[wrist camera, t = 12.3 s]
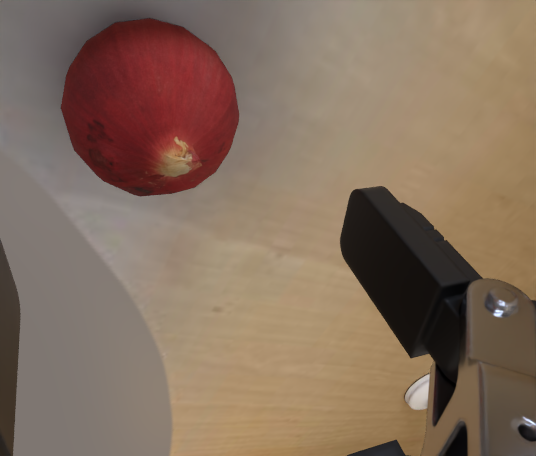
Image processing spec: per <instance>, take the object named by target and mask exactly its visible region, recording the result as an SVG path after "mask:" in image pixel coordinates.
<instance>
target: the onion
mask: <svg viewBox="0 0 536 456" xmlns="http://www.w3.org/2000/svg"><path fill="white" fill-rule="evenodd" d="M61 110H62V113H63V117H64V120H65V123H66V126H67V130H68V133H69V136H70V140H71V143H72V145H73V148H74V151H75V152H76V153H77V154H78V155H79V156H80V157H81V158H82V159H83V160H84V162H85V163H86V164H87V165H88V166H89V167H90V168H91V169H92V170H93V172H94V173H95V174H96V175H97V176H98V177H99V178H101V179H102V180H103V181H104V182H107V183H109V184H111V185H113V186H115V187H118V188H120V189H122V190H124V191H127V192H129V193H131V194H133V195H137V196H150V195H161V194H172V193H176V192H179V191H183V190H187V189H190V188H194V187H196V186H197V185H199V184H200V183H201V182H203V181H204V180H205V179H207V178H208V177H209V176H211V175H212V174H213V173H215V172H216V170H217V169H218V167H219V166H220V164H221V163H222V161H223V160H224V158H225V157H226V155H227V154H228V152H229V150H230V148H231V145H232V142H233V138H234V135H235V132H236V129H237V126H238V121H239V110H238V104H237V99H236V93H235V87H234V83H233V80H232V77H231V75H230V74H229V72H228V70H227V69H226V67H225V66H224V64H223V62H222V61H221V59H220V58H219V56H218V55H217V53H216V51H215V50H213V49H212V48H211V47H210V46H209V45H207V44H206V43H204V42H203V41H202V40H200V39H199V38H197V37H196V36H195V35H193V34H192V33H190V32H189V31H188V30H186V29H185V28H184V27H181V26H178V25H174V24H170V23H166V22H162V21H159V20H155V19H151V18H147V19H139V20H132V21H124V22H116V23H114V24H112V25H111V26H109V27H107V28H106V29H104V30H103V31H101V32H100V33H98V34H97V35H95V36H94V37H92V38H91V39H89V40H87V41H86V43H85V44H84V46H83V47H82V49H81V50H80V52H79V53H78V55H77V56H76V58H75V59H74V61H73V62H72V64H71V65H70V67H69V70H68V72H67V75H66V80H65V86H64V92H63V98H62V104H61Z"/></svg>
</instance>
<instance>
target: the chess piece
mask: <svg viewBox="0 0 536 456" xmlns="http://www.w3.org/2000/svg"><path fill="white" fill-rule="evenodd" d="M429 378H430V374H428V375H426V376H424V377H422V378H421V379H419V380H418V381H416V382H415V383H414V384H413V385H412V386H411V387H410V388H409V389H408V391H407V393H406V395H405V401H406V403H408V404H409V406H410V407H411V408H412V409H415V410H422V409H426V408H427V405H428V391H429Z"/></svg>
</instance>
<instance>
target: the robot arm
mask: <svg viewBox="0 0 536 456" xmlns="http://www.w3.org/2000/svg"><path fill="white" fill-rule="evenodd" d="M340 246H341V252H342V255H343V257H344V260H345V261H346V263H347V264H348V266H349V267H350V269H351V270H352V272H353V273H354V275H355V276H356V278H357V279H358V281H359V282H360V284H361V285H362V287H363V288H364V290H365V291H366V292H367V294H368V295H369V297H370V298H371V300H372V301H373V303H374V304H375V306H376V307H377V309H378V310H379V312H380V313H381V315H382V316H383V318H384V319H385V321H386V322H387V324H388V325H389V327H390V328H391V330H392V331H393V333H394V334H395V336H396V337H397V338H398V340H399V341H400V343H401V344H402V346H403V347H404V349H405V350H406V352H407V353H408V355H409V356H410V358H414V357H418V356H422V355H425V354H430V355H431V357H432V358H433V360H434V361H433V363H432V365H431V368H430V378H429V391H428V405H427V419H426V432H425V439H424V444H423V448H422V451H421V454H420V456H536V301H535V300H530V299H529V297H528V296H527V295H526V294H525V293H523V292H522V291H521V290H519V289H518V288H516V287H515V286H513V285H511V284H509V283H506V282H504V281H501V280H496V279H489V278H485V279H483V278H482V277H481V276H480V275H479V274H478V273H477V272H476V271H475V270H474V269H473V268H472V267H471V265H470V264H469V263H468V262H467V261H466V260H465V259H464V258H463V257H462V256H461V255H460V254H459V253H458V252H457V251H456V250H455V249H454V248H453V246H452V245H451V244H450V243H449V242H448V241H447V240H446V241H445V240H444V237H443V236H442V235H441V234H440V233H439V232H438V231H437V230H434V226H433V225H432V224H431V223H430V222H429V221H428V220H427V219H426V218H425V217H424V216H423V215H422V214H421V213H420V212H418V211H416V210H415V209H413V208H411V207H410V206H408V205H406V204H404V203H400V202H399V201H398V200H397V199H396V198H395V197H394V196H393V195H392V194H391V193H390V192H389V191H388V189H386V188H385V187H383V186H378V187H370V188H363V189H355V190H353V191H352V193H351V195H350V198H349V202H348V206H347V210H346V215H345V219H344V224H343V228H342V232H341V237H340ZM19 333H20V304H19V297H18V292H17V289H16V285H15V282H14V279H13V276H12V273H11V270H10V267H9V264H8V261H7V258H6V255H5V251H4V249H3V245H2V243H1V240H0V456H13V442H14V424H15V406H16V387H17V369H18V349H19ZM347 456H409V455H405V454H404V452H403V450H402V449H401V447H400V445H399V443H398V441H397V440H394V441H390V442H387V443H384V444H381V445H378V446H375V447H371V448H368V449H365V450H362V451H359V452H356V453H353V454H349V455H347Z"/></svg>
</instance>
